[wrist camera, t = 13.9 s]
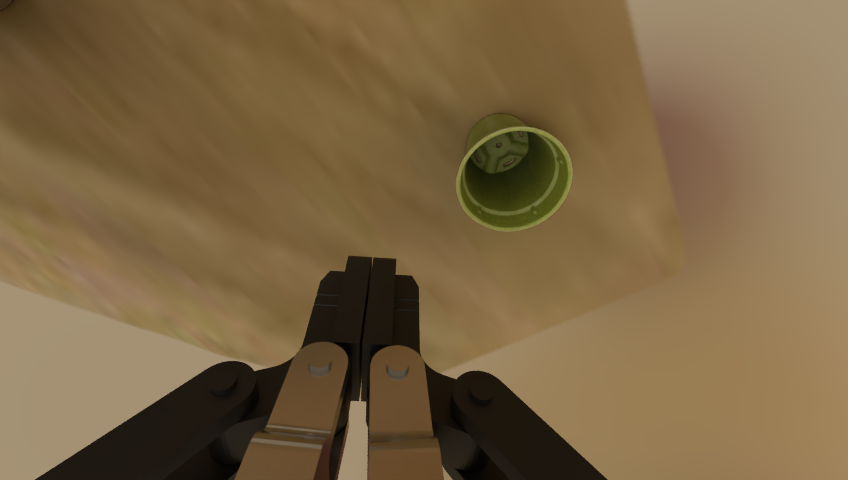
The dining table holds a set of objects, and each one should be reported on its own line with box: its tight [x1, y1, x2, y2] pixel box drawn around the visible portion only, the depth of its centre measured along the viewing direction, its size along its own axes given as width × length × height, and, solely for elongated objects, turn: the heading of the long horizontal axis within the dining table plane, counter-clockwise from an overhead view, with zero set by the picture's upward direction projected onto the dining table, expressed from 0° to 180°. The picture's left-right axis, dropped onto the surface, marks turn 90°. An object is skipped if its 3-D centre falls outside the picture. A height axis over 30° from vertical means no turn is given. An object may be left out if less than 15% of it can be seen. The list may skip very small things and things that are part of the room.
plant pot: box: [456, 113, 573, 231], centre depth 38 cm, size 9×9×9 cm
